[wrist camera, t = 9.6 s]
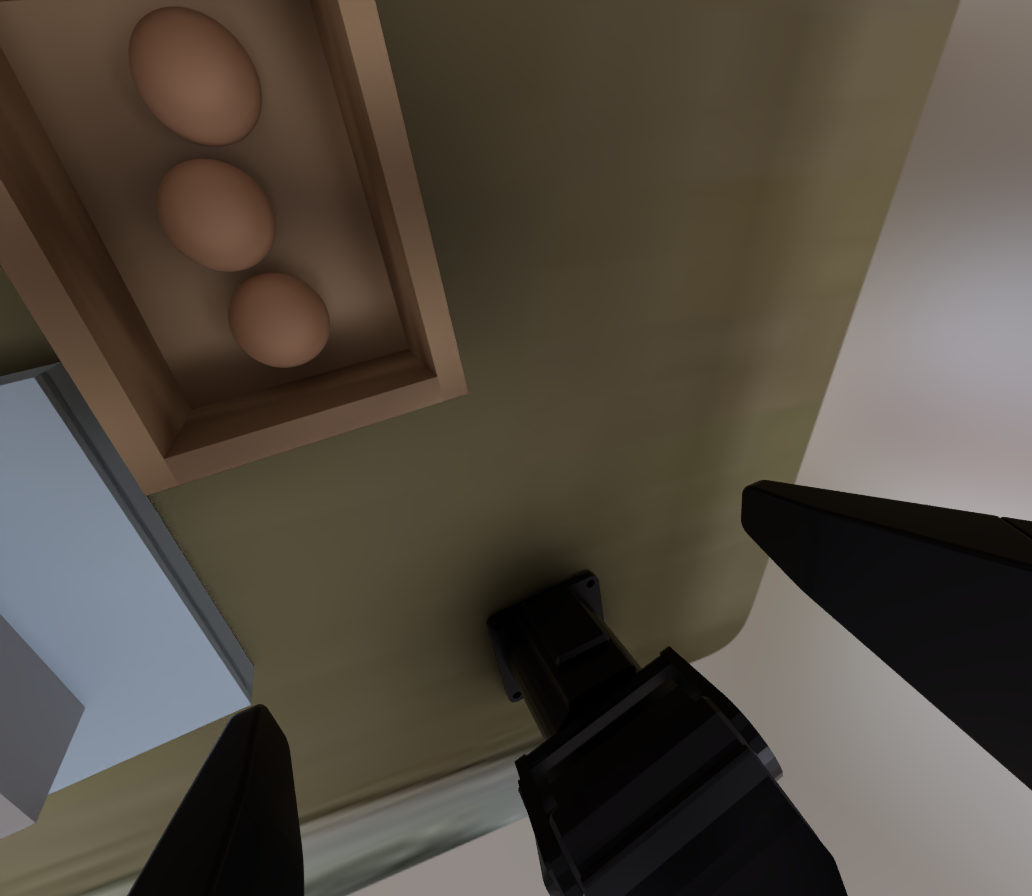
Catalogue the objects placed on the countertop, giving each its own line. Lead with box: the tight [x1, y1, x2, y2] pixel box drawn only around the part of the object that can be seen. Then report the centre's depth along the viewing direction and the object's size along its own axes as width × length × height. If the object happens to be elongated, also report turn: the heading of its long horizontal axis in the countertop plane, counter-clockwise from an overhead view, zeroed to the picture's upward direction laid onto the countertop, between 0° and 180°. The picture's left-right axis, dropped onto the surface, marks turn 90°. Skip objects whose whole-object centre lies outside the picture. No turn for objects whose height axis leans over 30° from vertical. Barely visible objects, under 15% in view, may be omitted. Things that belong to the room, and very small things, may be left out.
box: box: [0, 0, 468, 496], centre depth 13 cm, size 12×9×5 cm
